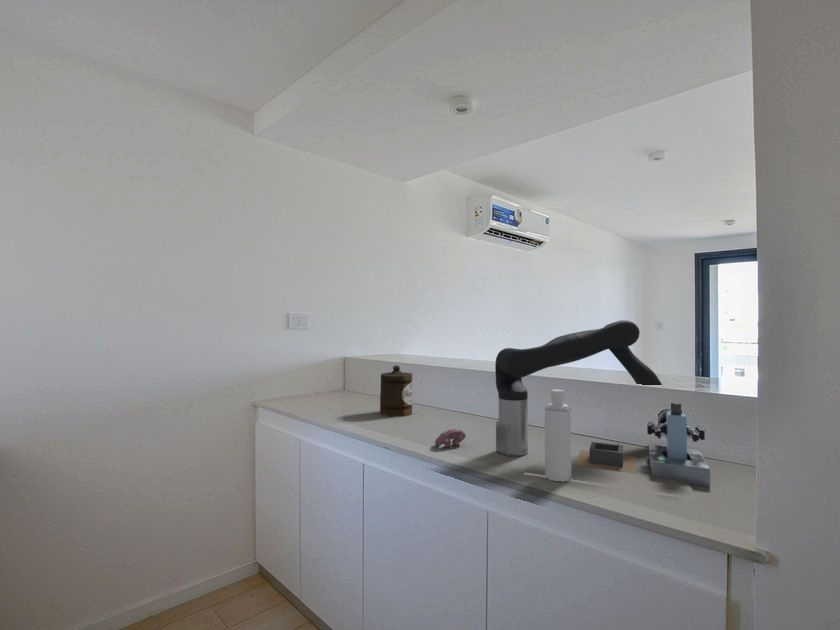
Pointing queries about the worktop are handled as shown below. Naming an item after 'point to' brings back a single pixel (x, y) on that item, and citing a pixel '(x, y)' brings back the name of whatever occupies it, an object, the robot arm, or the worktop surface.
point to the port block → (679, 466)
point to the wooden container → (396, 393)
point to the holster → (607, 458)
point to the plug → (676, 433)
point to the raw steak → (450, 437)
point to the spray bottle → (558, 438)
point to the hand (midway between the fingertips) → (677, 436)
